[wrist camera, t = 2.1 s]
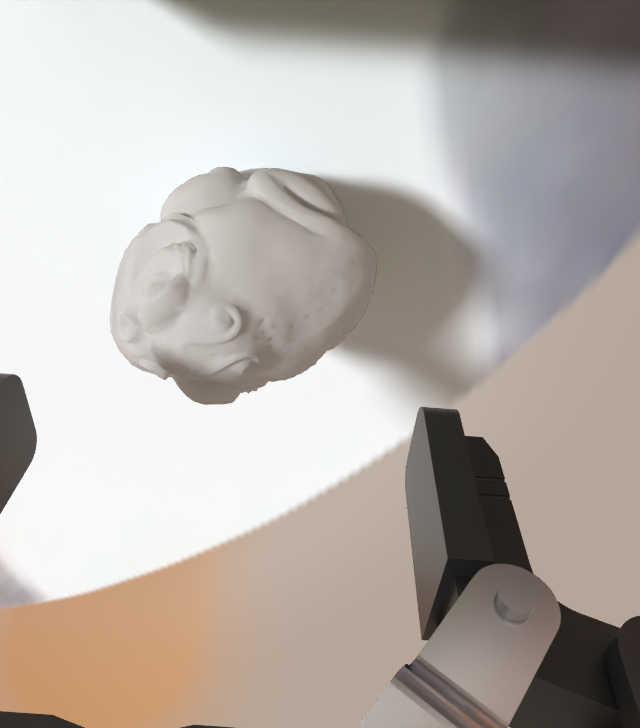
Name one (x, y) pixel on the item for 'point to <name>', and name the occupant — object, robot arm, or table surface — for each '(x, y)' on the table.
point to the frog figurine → (240, 282)
